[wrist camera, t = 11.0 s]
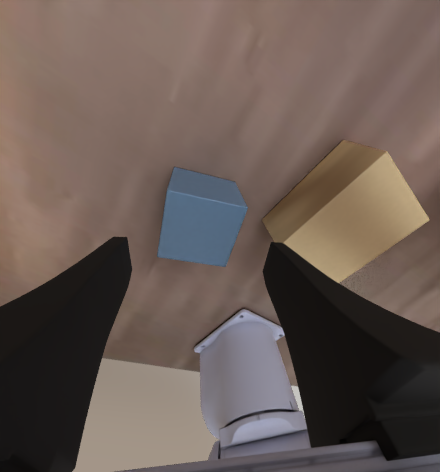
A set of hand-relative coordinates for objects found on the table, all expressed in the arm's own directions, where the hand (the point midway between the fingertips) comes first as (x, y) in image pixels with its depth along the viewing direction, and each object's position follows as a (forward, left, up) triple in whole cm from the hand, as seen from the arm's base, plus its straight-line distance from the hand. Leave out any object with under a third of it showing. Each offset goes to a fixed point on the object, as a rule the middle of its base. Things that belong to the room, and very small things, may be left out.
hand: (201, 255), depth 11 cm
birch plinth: (+6, -8, -6) cm, 12 cm away
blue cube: (0, 0, -6) cm, 7 cm away
